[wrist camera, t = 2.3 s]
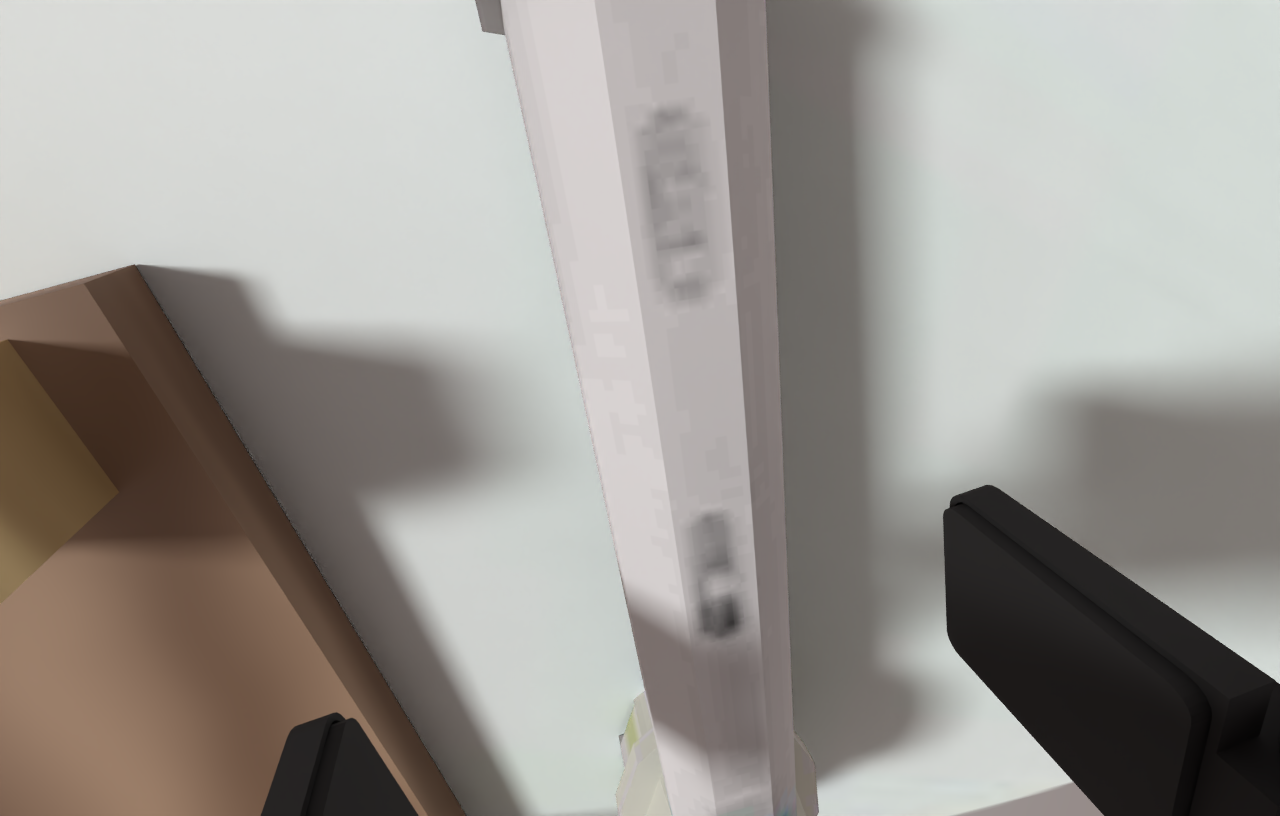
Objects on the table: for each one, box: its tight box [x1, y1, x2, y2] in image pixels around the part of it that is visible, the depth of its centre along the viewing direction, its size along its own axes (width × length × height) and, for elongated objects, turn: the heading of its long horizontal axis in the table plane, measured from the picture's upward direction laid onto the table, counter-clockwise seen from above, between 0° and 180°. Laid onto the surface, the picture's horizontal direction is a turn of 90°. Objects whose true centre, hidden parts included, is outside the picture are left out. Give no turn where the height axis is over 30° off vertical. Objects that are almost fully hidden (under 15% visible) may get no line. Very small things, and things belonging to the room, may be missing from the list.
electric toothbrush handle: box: [475, 0, 819, 816], centre depth 13 cm, size 5×7×25 cm
